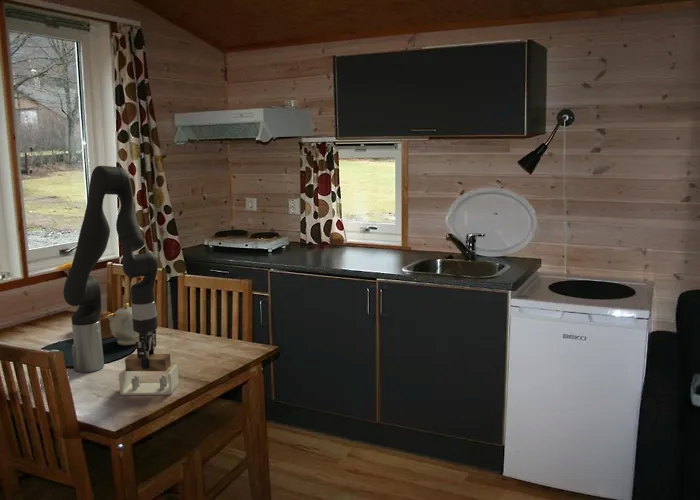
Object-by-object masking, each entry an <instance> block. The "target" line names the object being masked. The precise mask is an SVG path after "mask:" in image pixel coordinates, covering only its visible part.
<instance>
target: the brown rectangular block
mask: <svg viewBox="0 0 700 500" xmlns="http://www.w3.org/2000/svg"><path fill="white" fill-rule="evenodd" d="M148 358H149V369H142V363H141V358H140V359H138V355H137V353H130V354H129V355H128V356H127V357H126V358H124V364H125V367H126V371H130V372H167V371H168V369H169V368H170V367H171V365H172V364H171V354H170V353H154V354H149V357H148Z"/></svg>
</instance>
